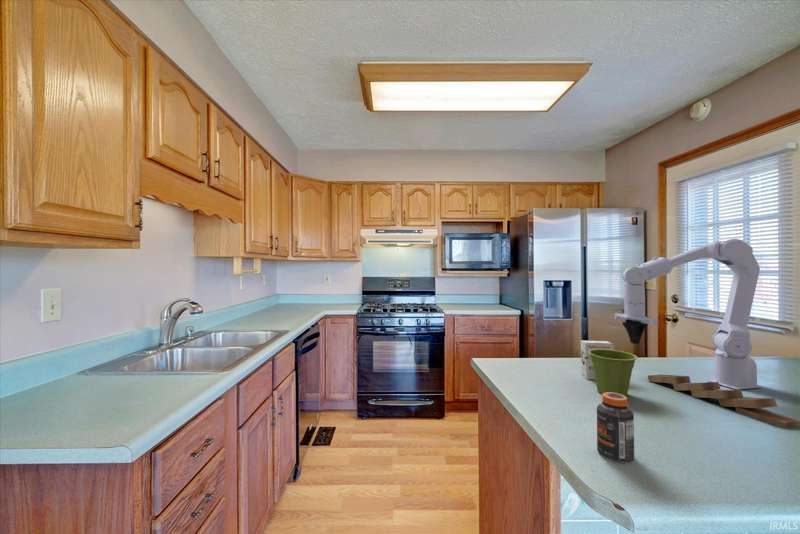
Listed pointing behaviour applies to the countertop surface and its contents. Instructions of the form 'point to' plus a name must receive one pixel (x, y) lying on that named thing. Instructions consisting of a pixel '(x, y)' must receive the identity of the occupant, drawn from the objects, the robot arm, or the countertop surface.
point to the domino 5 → (769, 417)
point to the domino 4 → (748, 402)
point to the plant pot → (612, 370)
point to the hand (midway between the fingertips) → (635, 343)
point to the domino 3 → (717, 393)
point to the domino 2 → (697, 386)
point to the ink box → (586, 361)
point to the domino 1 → (669, 379)
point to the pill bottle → (615, 428)
